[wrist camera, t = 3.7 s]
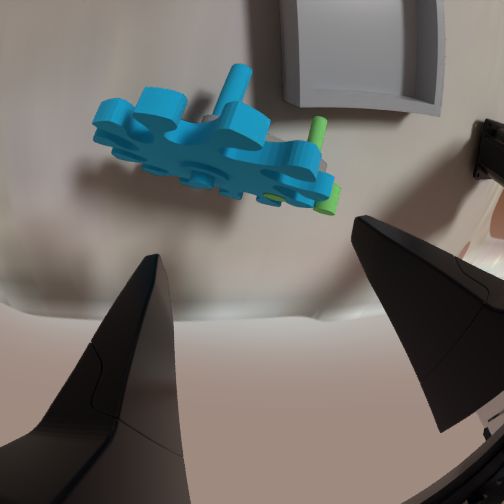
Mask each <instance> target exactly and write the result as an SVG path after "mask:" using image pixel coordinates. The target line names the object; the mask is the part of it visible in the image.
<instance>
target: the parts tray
mask: <svg viewBox="0 0 504 504" xmlns="http://www.w3.org/2000/svg"><path fill="white" fill-rule="evenodd" d="M279 9H280V26H281V47H282V73H283V100H284V101H286V102H288V103H291V104H293V105H295V106H298V107H300V108H302V107H343V108H366V109H380V110H392V111H401V112H410V113H417V114H425V115H431V116H437V117H440V113H441V105H442V95H443V84H444V70H445V14H444V0H279Z"/></svg>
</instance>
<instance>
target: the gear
mask: <svg viewBox="0 0 504 504" xmlns="http://www.w3.org/2000/svg"><path fill="white" fill-rule="evenodd" d="M252 73H253V71H252V69H251V68H250V67H248V66H246V65H244V64H234V65H233V66H232V67H231V70H230V72H229V74H228V76H227V79H226V81H225V84H224V86H223V88H222V91H221V93H220V96H219V98H218V101H217V103H216V106H215V108H214V111H213V113H212V115H206V116H204V117H203V120H202V122H201V123H190V122H186V121H184V120H181V117H182V114H183V112H184V109H185V107H186V105H187V102H188V101H187V98H186V96H185V95H184V94H182V93H179V92H176V91H173V90H168V89H163V88H154V87H145V88H144V90H143V92H142V94H141V97H140V99H139V101H138V103H137V105H136V107H135V108H134V106H133V105H132V104H131V103H129V102H127V101H126V100H123V99H121V98H113V99H108V100H105V101H103V102H101V104H100V106H99V109H98V111H97V113H96V115H95V117H94V120H93V122H92V124H93V125H94V126H96V127H97V130H96V132H95V135H94V137H93V141H94V142H96V143H99V144H102V145H105V146H110V147H113V149H112V152H111V153H112V155H114V156H115V157H116V158H118V159H120V160H124V161H130V162H139V163H143V165H142V169H143V170H145V171H147V172H149V173H152V174H154V175H158V176H164V175H170V176H177V177H181V178H180V181H179V183H182V184H184V185H187V186H190V187H193V188H196V189H201V188H206V189H212V188H213V187H219V188H220V190H219V194H221V195H224V196H227V197H230V198H234V199H238V200H241V199H242V195H243V192H246V193H251V194H254V195H256V196H257V198H256V201H258V202H259V203H262V204H266V205H271V206H276V207H280V206H281V202H285V201H286V202H287V203H288V204H290V205H293V206H296V207H303V208H313V210H315V211H317V212H319V213H322V214H326V215H335V212H336V207H337V203H338V199H339V194H340V190H341V187H340V186H339V185H337V184H335V183H333V182H334V176H332V175H330V174H328V173H325V172H326V168H327V163H326V162H325V161H324V160H323V159H321V158H322V155H321V147H322V143H323V139H324V134H325V130H326V125H327V120H326V119H325V118H323V117H320V116H315V117H313V120H312V124H311V128H310V132H309V136H308V140H307V142H306V141H300V140H294V141H288V142H285V141H283V140H281V139H278V138H276V137H274V136H271V135H269V134H267V133H268V129H269V126H270V123H271V120H270V119H269V118H267V117H266V116H265V115H264V114H262V113H261V112H259V111H257V110H256V109H254V108H252V107H250V106H248V105H246V104H244V103H242V100H243V97H244V94H245V92H246V89H247V86H248V84H249V81H250V78H251V76H252Z"/></svg>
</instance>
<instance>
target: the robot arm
mask: <svg viewBox="0 0 504 504" xmlns="http://www.w3.org/2000/svg"><path fill="white" fill-rule="evenodd" d="M473 177H474V178H475V179H477V180H479V179H493V180H495V181H496V182H497V183H499V184H500V185H501V186H503V187H504V124H503V123H500V122H497V121H494V120H491V119H485V122H484V127H483V133H482V138H481V143H480V148H479V152H478V156H477V161H476V165H475V169H474V172H473ZM351 242H352V245H353V247H354V249H355V251H356V253H357V256H358V258H359V260H360V262H361V264H362V267H363V269H364V271H365V274H366V276H367V278H368V280H369V282H370V284H371V286H372V287H373V289H374V291H375V293H376V295H377V296H378V298H379V300H380V302H381V304H382V306H383V308H384V309H385V311H386V313H387V315H388V317H389V319H390V321H391V323H392V325H393V327H394V329H395V331H396V333H397V335H398V337H399V339H400V341H401V343H402V345H403V347H404V349H405V351H406V353H407V355H408V357H409V360H410V362H411V364H412V366H413V368H414V371H415V373H416V375H417V377H418V380H419V382H420V384H421V387H422V389H423V391H424V394H425V396H426V398H427V401H428V403H429V406H430V408H431V411H432V413H433V416H434V419H435V421H436V424H437V427H438V429H439V431H440V433H442V432H444V431H445V430H447V429H449V428H450V427H452V426H454V425H455V424H457V423H459V422H460V421H462V420H463V419H465V418H467V417H468V416H470V415H471V414H473V413H474V412H477V415H478V417H479V419H480V420H481V422H482V425H483V427H484V433H483V435H484V437H485V439H486V442H485V443H483V444H482V445H481V446H480V447H479V448H478V449H477V450H476V451H475V452H473V453H472V454H471V455H470V456H469V457H468V458H466V459H465V460H464V461H463V462H462V463H460V464H459V465H458V466H457V467H455V468H454V469H453V470H451V471H450V472H449V473H447V474H446V475H445V476H443V477H442V478H441V479H439V480H438V481H436V482H435V483H433V484H432V485H431V486H429V487H428V488H426V489H425V490H423V491H421V492H420V493H418V494H417V495H415V496H414V497H412V498H410V499H408V500H407V501H405V502H403V503H402V504H504V280H502V279H500V278H498V277H496V276H494V275H492V274H489V273H487V272H485V271H483V270H481V269H479V268H477V267H475V266H473V265H471V264H469V263H467V262H465V261H463V260H462V259H460V258H458V257H456V256H455V257H454V256H453V255H452V254H450V253H448V252H446V251H444V250H442V249H440V248H438V247H436V246H434V245H432V244H430V243H428V242H426V241H424V240H421V239H419V238H417V237H415V236H413V235H411V234H409V233H406V232H404V231H402V230H400V229H398V228H395V227H393V226H391V225H389V224H386V223H384V222H382V221H380V220H377V219H375V218H373V217H370V216H368V215H364V216H358V217H356V218H355V220H354V224H353V230H352V235H351ZM91 342H92V343H89V345H88V346H87V348H86V350H85V351H84V353H83V355H82V357H81V358H80V360H79V362H78V363H77V365H76V367H75V369H74V370H73V372H72V373H71V375H70V376H69V378H68V379H67V381H66V383H65V384H64V386H63V387H62V389H61V390H60V392H59V393H58V395H57V396H56V398H55V400H54V401H53V403H52V404H51V406H50V408H49V409H48V411H47V412H46V414H45V416H44V417H43V419H42V420H41V422H40V423H39V424H38V425H37V426H36V427H35V428H34V429H33V430H32V431H31V432H29V433H28V434H26V435H24V436H22V437H20V438H19V439H16V440H14V441H12V442H10V443H8V444H6V445H4V446H2V447H0V504H191V502H190V496H189V490H188V484H187V478H186V471H185V464H184V458H183V450H182V442H181V433H180V424H179V413H178V401H177V389H176V372H175V351H174V326H173V317H172V310H171V302H170V295H169V286H168V279H167V275H166V272H165V269H164V266H163V263H162V260H161V257H160V255H159V254H153V255H148V256H145V257H144V259H143V260H142V262H141V263H140V265H139V266H138V267H137V269H136V270H135V272H134V273H133V275H132V276H131V278H130V279H129V281H128V282H127V284H126V285H125V287H124V288H123V290H122V291H121V293H120V294H119V296H118V297H117V299H116V301H115V302H114V304H113V305H112V307H111V308H110V310H109V312H108V313H107V315H106V316H105V318H104V320H103V321H102V323H101V324H100V326H99V328H98V330H97V331H96V333H95V334H94V336H93V338H92V340H91ZM465 501H466V502H465Z"/></svg>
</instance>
